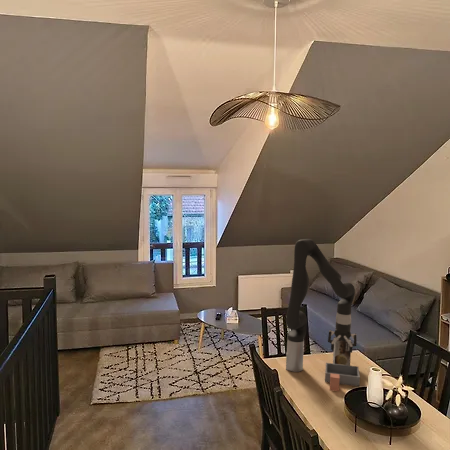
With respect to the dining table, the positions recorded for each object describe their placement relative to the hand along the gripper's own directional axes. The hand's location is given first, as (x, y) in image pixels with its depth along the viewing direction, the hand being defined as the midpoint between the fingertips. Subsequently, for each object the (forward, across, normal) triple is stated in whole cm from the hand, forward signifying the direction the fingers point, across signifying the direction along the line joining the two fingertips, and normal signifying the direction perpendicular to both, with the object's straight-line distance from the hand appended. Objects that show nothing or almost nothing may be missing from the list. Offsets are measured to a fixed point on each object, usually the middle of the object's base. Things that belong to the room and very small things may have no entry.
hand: (341, 351), depth 226 cm
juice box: (+19, -2, -3) cm, 20 cm away
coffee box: (+19, -1, +27) cm, 34 cm away
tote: (+19, 0, +10) cm, 22 cm away
